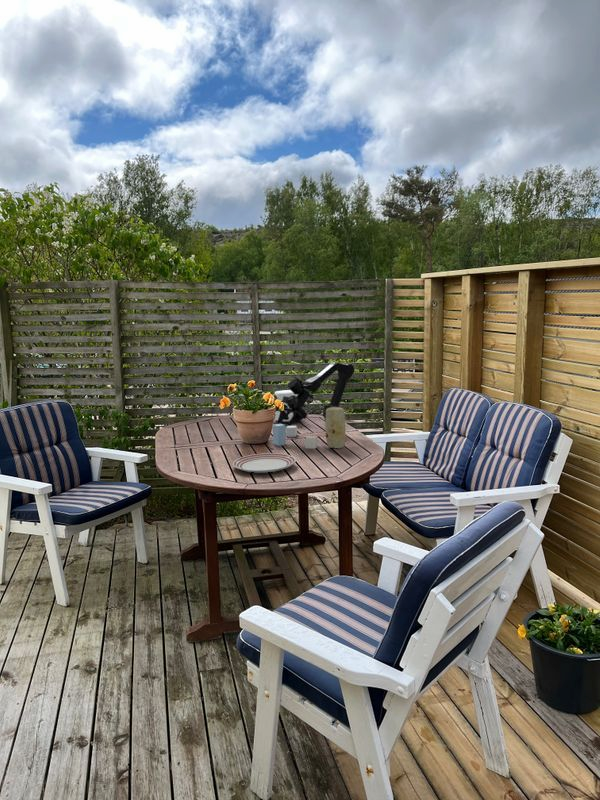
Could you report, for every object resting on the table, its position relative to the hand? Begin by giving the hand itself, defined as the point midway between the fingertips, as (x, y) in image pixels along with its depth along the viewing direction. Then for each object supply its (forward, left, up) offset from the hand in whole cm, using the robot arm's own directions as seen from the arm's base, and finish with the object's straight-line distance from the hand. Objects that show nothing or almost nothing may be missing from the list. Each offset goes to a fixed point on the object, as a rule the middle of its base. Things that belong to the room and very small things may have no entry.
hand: (283, 424), depth 296 cm
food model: (-27, +6, -10) cm, 30 cm away
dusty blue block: (+2, +2, -10) cm, 10 cm away
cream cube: (-15, +6, -10) cm, 19 cm away
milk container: (+10, -55, -10) cm, 57 cm away
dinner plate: (-1, +44, -10) cm, 45 cm away
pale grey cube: (0, -18, -10) cm, 21 cm away
